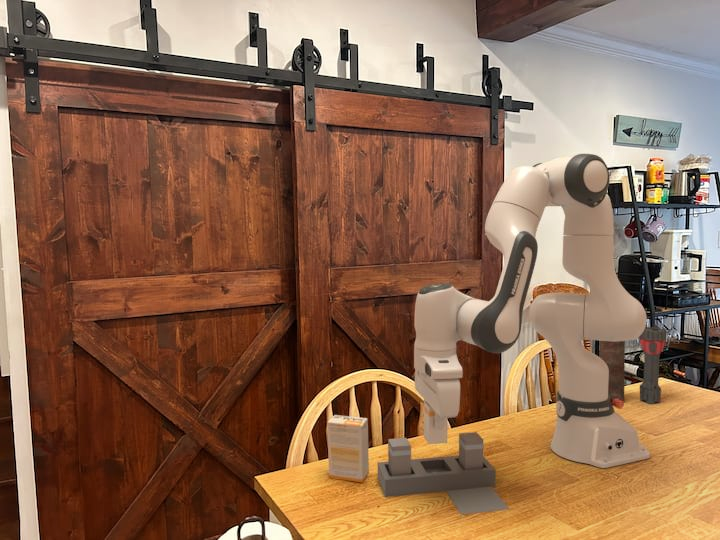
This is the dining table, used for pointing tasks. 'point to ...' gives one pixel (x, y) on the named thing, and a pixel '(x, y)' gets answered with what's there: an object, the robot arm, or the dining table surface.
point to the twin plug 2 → (470, 451)
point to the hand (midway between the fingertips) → (434, 423)
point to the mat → (476, 500)
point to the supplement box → (348, 448)
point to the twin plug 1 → (399, 457)
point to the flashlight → (651, 363)
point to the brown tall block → (614, 366)
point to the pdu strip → (435, 477)
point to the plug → (429, 430)
